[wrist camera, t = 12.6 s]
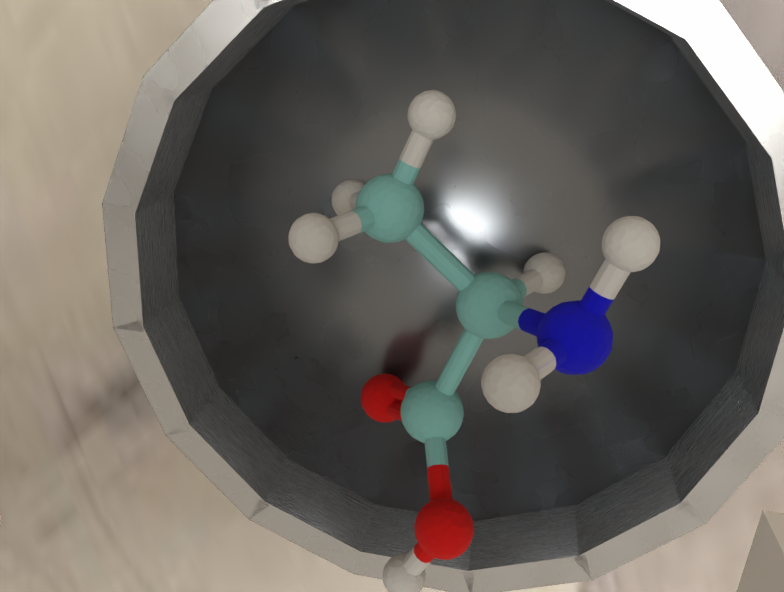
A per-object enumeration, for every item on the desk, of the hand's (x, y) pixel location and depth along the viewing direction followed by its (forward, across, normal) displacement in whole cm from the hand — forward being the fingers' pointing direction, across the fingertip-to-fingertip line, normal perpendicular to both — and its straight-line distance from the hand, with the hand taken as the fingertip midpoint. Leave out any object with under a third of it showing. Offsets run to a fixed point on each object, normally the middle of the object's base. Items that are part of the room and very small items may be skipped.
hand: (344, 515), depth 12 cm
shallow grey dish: (+13, +1, 0) cm, 13 cm away
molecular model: (+12, +2, 0) cm, 12 cm away
